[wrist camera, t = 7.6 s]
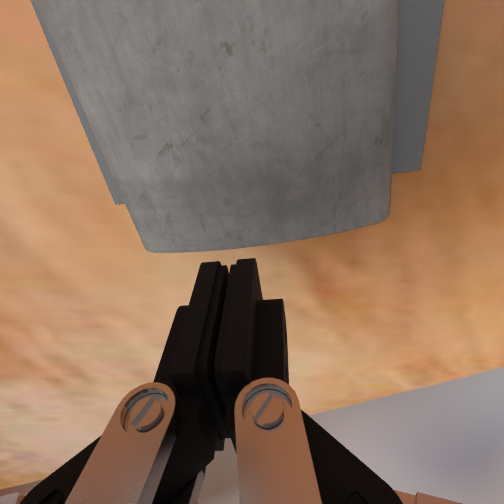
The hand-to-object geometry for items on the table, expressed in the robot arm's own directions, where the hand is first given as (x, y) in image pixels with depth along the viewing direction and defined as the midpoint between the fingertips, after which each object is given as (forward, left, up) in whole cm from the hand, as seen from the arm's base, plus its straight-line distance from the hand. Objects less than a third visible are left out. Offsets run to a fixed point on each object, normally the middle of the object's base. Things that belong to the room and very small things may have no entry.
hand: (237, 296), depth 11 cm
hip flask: (0, +4, -10) cm, 11 cm away
